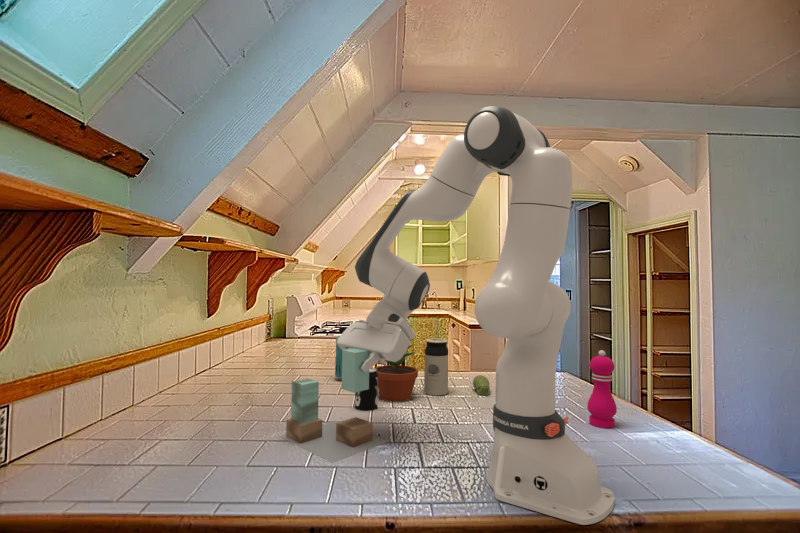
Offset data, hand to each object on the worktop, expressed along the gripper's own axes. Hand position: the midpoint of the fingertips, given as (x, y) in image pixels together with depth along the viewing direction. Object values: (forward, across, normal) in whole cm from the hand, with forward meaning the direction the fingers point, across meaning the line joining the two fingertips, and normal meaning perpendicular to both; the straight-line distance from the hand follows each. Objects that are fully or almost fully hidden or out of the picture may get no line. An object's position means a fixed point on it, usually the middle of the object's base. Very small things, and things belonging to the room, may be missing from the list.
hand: (353, 368), depth 99 cm
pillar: (+3, 0, +4) cm, 5 cm away
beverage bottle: (-14, -51, +40) cm, 66 cm away
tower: (+16, -10, +7) cm, 20 cm away
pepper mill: (-28, +36, +53) cm, 70 cm away
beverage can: (-1, -17, +27) cm, 31 cm away
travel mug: (-22, -15, +48) cm, 55 cm away
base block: (+11, 0, +12) cm, 17 cm away
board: (+14, -4, +11) cm, 18 cm away
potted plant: (-13, -21, +39) cm, 46 cm away
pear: (-31, -4, +57) cm, 65 cm away
